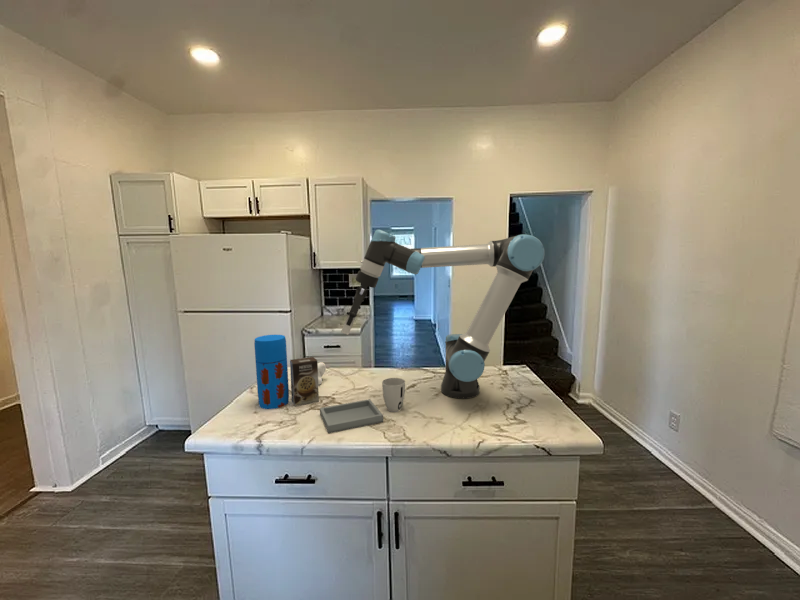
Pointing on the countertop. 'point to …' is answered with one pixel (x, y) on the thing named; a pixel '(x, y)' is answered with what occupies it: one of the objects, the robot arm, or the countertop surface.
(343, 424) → the tray
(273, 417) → the countertop surface
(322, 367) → the white decorative knot
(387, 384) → the cup
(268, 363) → the thermos
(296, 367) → the coffee box
